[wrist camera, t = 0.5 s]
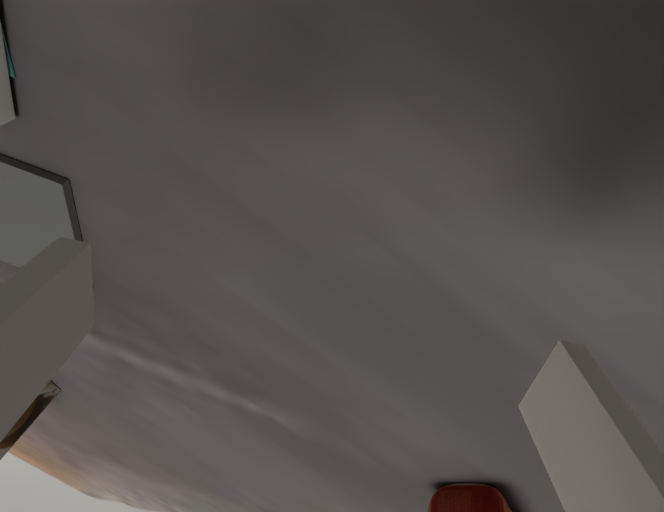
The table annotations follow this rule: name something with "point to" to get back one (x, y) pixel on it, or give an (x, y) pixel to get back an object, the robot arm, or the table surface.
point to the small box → (5, 88)
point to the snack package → (468, 499)
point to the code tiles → (8, 57)
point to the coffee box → (28, 417)
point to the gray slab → (33, 211)
